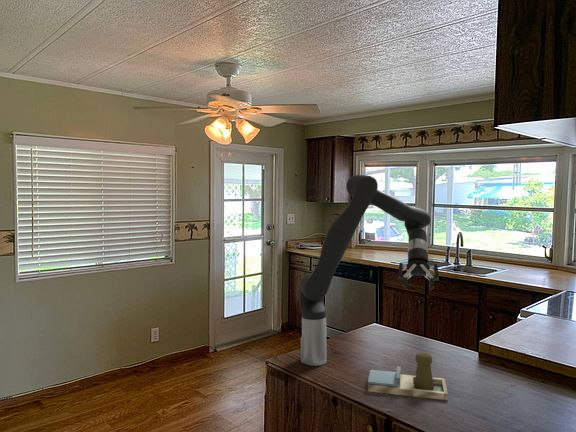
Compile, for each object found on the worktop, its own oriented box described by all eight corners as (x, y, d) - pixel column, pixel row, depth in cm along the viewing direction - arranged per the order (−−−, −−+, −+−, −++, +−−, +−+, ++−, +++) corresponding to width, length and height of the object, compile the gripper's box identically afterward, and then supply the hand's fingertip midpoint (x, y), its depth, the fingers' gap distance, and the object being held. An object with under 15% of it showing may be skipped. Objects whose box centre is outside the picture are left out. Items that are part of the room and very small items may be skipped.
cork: (435, 391, 133) (435, 357, 133) (415, 390, 134) (415, 356, 134) (432, 383, 139) (432, 350, 139) (413, 382, 140) (413, 349, 140)
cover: (367, 383, 136) (367, 375, 135) (370, 371, 145) (370, 363, 145) (399, 386, 133) (399, 378, 133) (400, 374, 142) (400, 366, 142)
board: (367, 391, 135) (367, 385, 135) (371, 377, 145) (370, 371, 145) (447, 400, 128) (447, 393, 128) (444, 384, 139) (444, 378, 139)
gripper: (398, 246, 163) (397, 282, 152) (437, 247, 159) (439, 283, 148) (399, 258, 168) (398, 293, 157) (436, 259, 164) (438, 295, 153)
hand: (418, 288), depth 153 cm, fingers open, 8 cm apart
